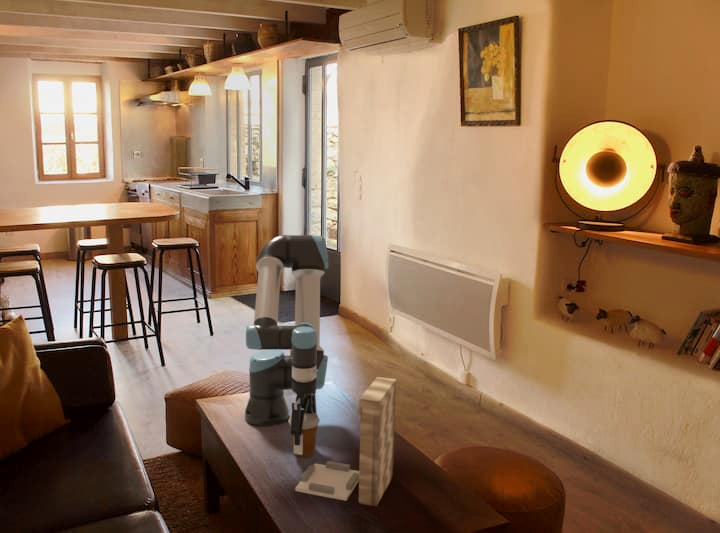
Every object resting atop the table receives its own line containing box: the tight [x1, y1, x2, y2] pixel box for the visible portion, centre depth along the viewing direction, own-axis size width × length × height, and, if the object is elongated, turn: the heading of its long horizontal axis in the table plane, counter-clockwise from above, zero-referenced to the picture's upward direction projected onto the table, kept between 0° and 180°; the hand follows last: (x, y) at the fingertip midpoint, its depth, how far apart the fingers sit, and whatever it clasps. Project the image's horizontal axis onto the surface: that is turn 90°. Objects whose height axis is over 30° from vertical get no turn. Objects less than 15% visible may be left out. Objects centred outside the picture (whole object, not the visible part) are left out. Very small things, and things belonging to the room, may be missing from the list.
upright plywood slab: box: [358, 376, 397, 507], centre depth 190 cm, size 17×6×30 cm, turn 162°
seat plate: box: [294, 460, 359, 501], centre depth 195 cm, size 15×15×2 cm
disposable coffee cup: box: [287, 412, 320, 458], centre depth 212 cm, size 10×10×12 cm
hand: (303, 447), depth 213 cm, fingers closed on disposable coffee cup, 8 cm apart
